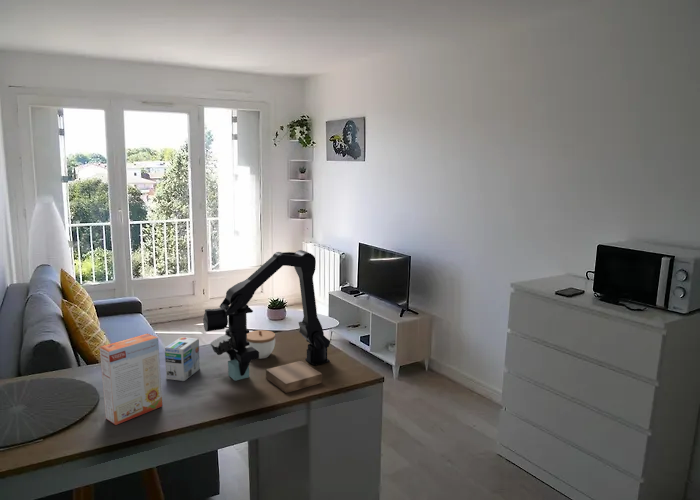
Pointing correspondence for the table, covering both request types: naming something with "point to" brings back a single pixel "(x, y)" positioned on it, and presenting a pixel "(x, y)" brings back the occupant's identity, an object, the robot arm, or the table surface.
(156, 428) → the table surface
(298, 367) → the plinth
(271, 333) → the lidded jar
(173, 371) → the light bulb box
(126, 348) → the cracker box
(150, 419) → the table surface
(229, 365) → the block
